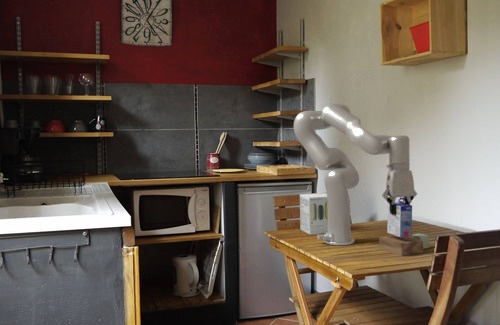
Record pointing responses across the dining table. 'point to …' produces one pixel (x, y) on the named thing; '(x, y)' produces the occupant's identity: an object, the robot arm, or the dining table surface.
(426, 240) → the sage cube
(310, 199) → the supplement box
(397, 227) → the ink cartridge box
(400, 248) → the walnut block
